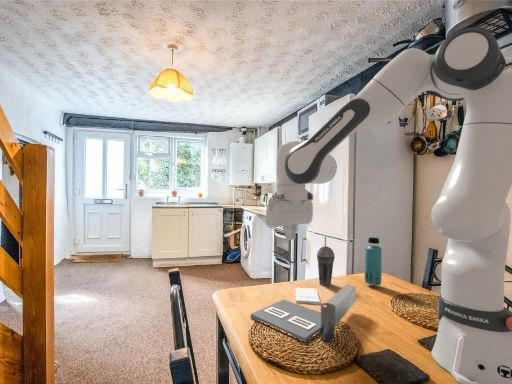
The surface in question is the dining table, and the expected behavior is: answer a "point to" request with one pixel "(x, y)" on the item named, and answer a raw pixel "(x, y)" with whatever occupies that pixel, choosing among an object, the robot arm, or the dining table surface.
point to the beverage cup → (325, 264)
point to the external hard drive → (307, 296)
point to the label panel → (291, 319)
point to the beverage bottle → (373, 262)
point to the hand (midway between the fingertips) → (290, 239)
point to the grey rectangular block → (335, 311)
